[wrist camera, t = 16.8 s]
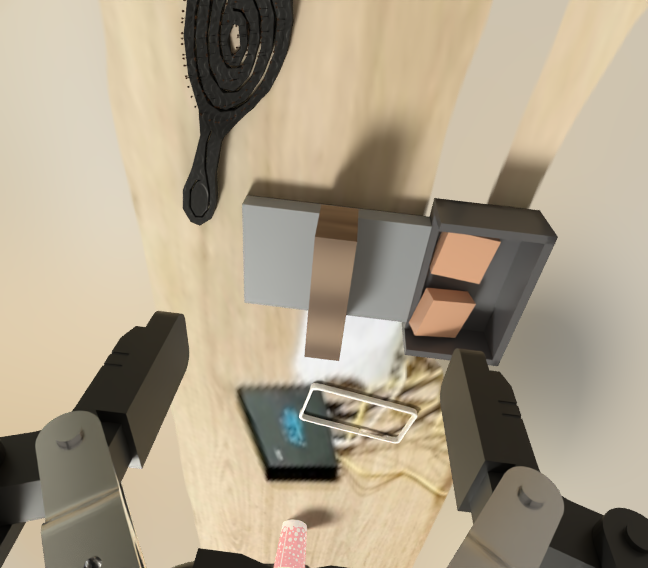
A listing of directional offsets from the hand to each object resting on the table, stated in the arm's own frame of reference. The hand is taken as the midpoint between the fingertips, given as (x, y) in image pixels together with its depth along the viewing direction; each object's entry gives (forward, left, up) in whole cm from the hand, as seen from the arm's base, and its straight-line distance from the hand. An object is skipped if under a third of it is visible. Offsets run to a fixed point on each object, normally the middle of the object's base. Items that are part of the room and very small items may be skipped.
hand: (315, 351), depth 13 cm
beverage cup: (+76, -1, -30) cm, 82 cm away
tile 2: (+20, +12, -29) cm, 37 cm away
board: (+16, 0, -30) cm, 34 cm away
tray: (+16, +14, -30) cm, 37 cm away
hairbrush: (+2, -11, -31) cm, 33 cm away
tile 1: (+13, +13, -29) cm, 34 cm away
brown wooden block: (+16, 0, -28) cm, 32 cm away
